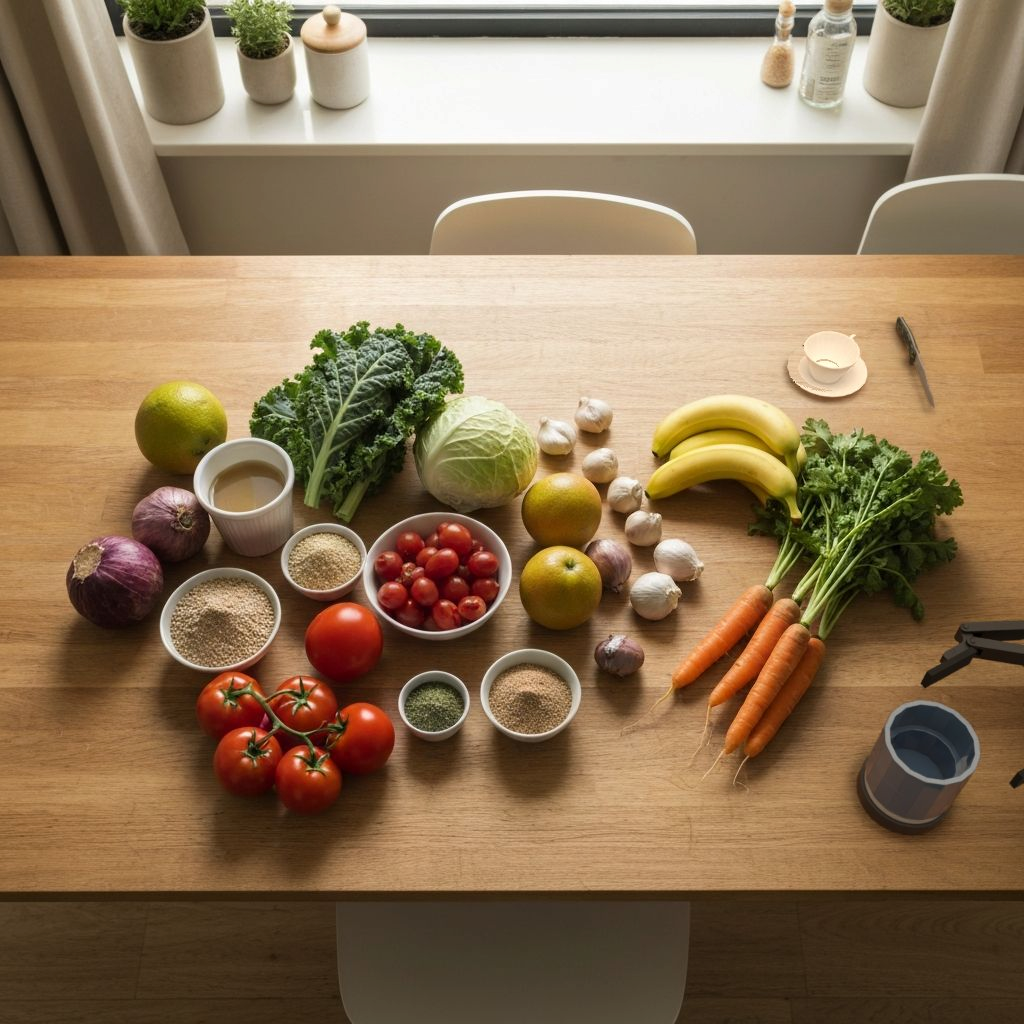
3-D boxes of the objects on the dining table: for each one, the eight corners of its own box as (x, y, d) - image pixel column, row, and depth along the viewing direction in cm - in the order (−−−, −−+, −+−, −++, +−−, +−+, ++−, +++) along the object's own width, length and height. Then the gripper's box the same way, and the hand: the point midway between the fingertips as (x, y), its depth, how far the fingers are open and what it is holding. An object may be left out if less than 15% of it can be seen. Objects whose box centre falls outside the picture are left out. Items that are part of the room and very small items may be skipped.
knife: (936, 417, 158) (941, 402, 156) (926, 417, 158) (932, 403, 156) (901, 324, 171) (906, 309, 168) (893, 324, 171) (897, 310, 168)
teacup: (878, 368, 165) (887, 342, 161) (843, 414, 159) (851, 389, 155) (807, 337, 169) (814, 311, 165) (770, 381, 164) (776, 356, 159)
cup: (965, 767, 120) (992, 727, 113) (936, 838, 115) (963, 801, 108) (882, 726, 124) (903, 685, 116) (851, 793, 119) (871, 755, 111)
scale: (959, 779, 123) (967, 767, 120) (930, 852, 118) (938, 841, 115) (875, 737, 126) (881, 725, 124) (843, 806, 121) (848, 795, 119)
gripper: (1189, 750, 117) (1043, 841, 111) (1020, 585, 131) (883, 658, 125) (1222, 717, 111) (1071, 811, 105) (1042, 549, 125) (899, 623, 120)
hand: (968, 728), depth 115 cm, fingers open, 13 cm apart
